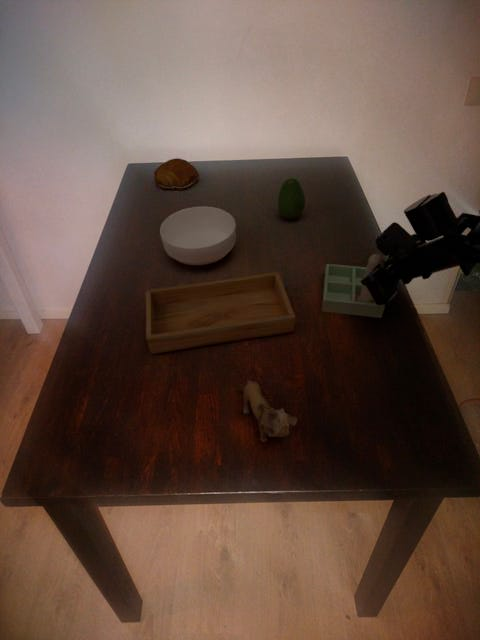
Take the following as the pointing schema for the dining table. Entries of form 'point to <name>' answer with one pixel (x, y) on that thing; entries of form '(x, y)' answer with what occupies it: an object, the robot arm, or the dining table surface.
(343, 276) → the grid
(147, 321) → the tray
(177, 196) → the dining table surface
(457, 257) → the robot arm
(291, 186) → the fruit
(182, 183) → the croissant
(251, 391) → the lion figurine
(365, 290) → the beige rounded cylinder
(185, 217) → the bowl
